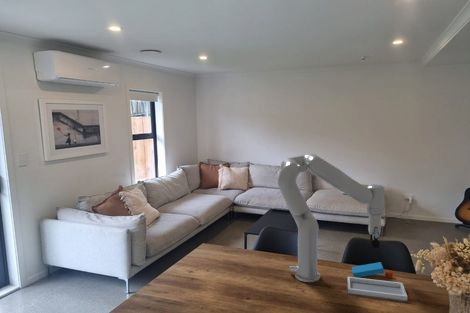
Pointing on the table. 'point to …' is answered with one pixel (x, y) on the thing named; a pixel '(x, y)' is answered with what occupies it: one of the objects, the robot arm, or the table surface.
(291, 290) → the table surface
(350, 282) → the tray
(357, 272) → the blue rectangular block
